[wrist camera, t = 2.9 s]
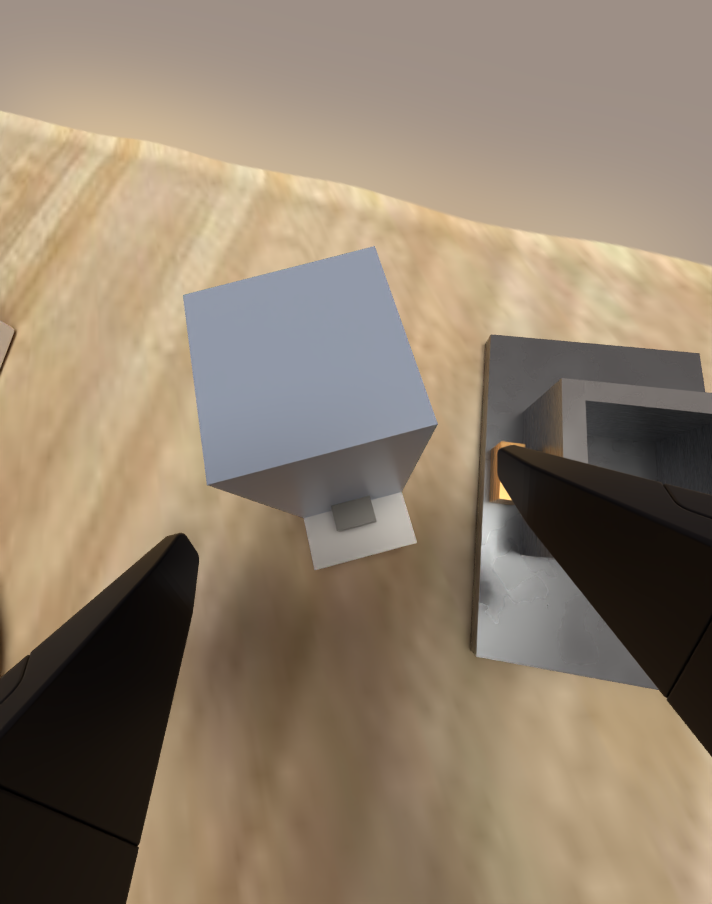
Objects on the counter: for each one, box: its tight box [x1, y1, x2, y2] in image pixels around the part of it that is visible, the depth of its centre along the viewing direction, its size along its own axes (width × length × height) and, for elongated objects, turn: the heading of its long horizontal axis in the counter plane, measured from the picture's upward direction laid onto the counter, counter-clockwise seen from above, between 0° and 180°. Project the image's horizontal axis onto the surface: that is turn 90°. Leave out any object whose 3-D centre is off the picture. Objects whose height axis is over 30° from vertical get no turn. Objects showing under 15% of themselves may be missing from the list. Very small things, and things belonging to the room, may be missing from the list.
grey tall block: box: [183, 246, 438, 570], centre depth 13 cm, size 9×4×13 cm, turn 14°
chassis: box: [470, 335, 712, 690], centre depth 16 cm, size 18×12×5 cm, turn 171°
